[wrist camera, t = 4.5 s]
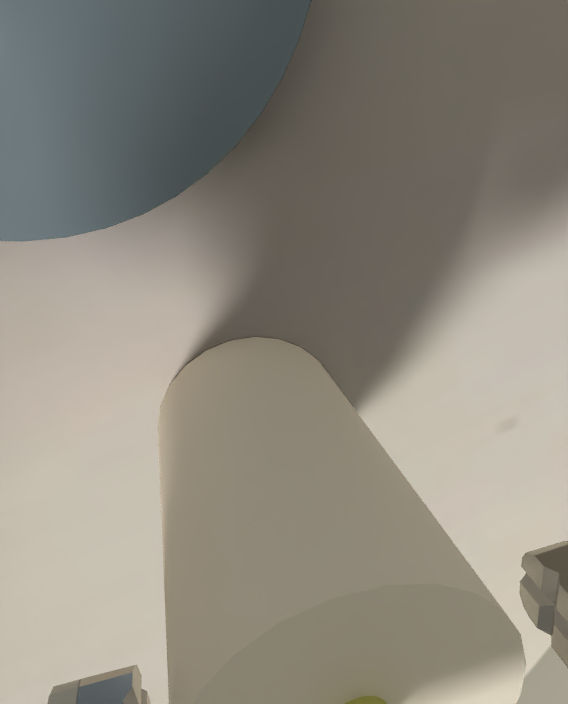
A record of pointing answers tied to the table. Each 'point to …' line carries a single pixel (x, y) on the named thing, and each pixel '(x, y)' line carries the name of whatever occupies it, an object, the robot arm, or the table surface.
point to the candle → (309, 551)
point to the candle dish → (127, 102)
